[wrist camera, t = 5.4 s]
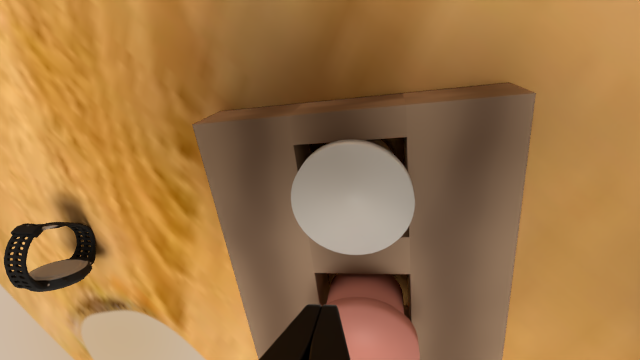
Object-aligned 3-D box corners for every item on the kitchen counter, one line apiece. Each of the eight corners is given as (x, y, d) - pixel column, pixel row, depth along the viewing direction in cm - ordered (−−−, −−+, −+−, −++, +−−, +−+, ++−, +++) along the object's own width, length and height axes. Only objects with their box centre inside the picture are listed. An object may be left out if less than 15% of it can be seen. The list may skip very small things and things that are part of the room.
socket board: (509, 82, 15) (535, 93, 13) (479, 400, 24) (491, 446, 22) (220, 111, 19) (192, 124, 16) (286, 383, 27) (276, 421, 25)
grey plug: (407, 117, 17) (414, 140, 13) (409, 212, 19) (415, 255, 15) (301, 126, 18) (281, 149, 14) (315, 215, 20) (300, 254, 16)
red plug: (412, 256, 18) (419, 311, 15) (413, 330, 20) (420, 394, 17) (314, 256, 19) (298, 306, 16) (325, 326, 22) (314, 384, 18)
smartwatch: (64, 248, 26) (-4, 294, 21) (61, 194, 23) (-16, 233, 19) (112, 267, 26) (54, 318, 21) (114, 215, 23) (50, 258, 19)
